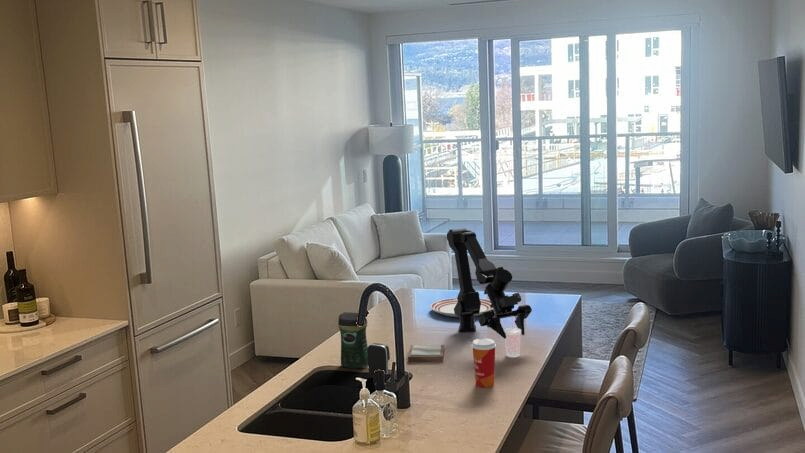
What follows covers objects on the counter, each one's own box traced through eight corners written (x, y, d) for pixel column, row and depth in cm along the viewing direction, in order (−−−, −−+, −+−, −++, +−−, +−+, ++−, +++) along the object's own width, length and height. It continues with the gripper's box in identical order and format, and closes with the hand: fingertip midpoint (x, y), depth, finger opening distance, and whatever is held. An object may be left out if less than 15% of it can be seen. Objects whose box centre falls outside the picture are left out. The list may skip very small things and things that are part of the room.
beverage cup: (503, 352, 274) (502, 313, 272) (520, 351, 274) (519, 313, 271) (505, 358, 268) (504, 319, 265) (522, 357, 268) (522, 318, 265)
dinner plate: (433, 303, 342) (433, 295, 341) (496, 302, 338) (496, 295, 337) (427, 321, 315) (426, 313, 314) (495, 321, 311) (495, 313, 311)
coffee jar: (372, 362, 270) (369, 310, 267) (363, 370, 263) (360, 317, 260) (347, 360, 274) (344, 308, 270) (337, 368, 266) (334, 315, 263)
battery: (392, 376, 256) (390, 343, 254) (386, 380, 252) (385, 347, 250) (373, 374, 259) (371, 341, 257) (368, 378, 255) (366, 344, 253)
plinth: (410, 350, 280) (410, 344, 280) (444, 350, 279) (444, 344, 279) (408, 362, 268) (407, 356, 268) (443, 361, 267) (442, 355, 267)
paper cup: (470, 380, 249) (469, 338, 246) (494, 379, 249) (493, 337, 247) (475, 390, 241) (473, 346, 239) (499, 388, 242) (498, 344, 239)
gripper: (481, 289, 267) (498, 329, 259) (528, 282, 274) (546, 320, 266) (471, 306, 275) (487, 345, 267) (517, 298, 282) (534, 336, 274)
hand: (514, 336), depth 268 cm, fingers open, 7 cm apart
